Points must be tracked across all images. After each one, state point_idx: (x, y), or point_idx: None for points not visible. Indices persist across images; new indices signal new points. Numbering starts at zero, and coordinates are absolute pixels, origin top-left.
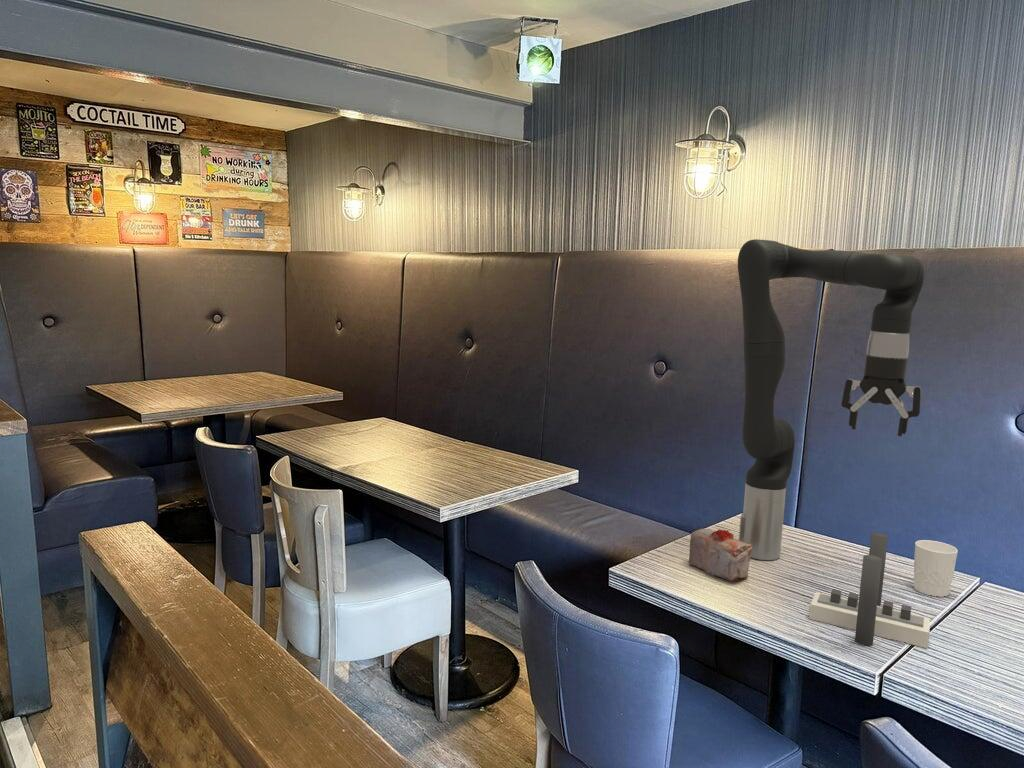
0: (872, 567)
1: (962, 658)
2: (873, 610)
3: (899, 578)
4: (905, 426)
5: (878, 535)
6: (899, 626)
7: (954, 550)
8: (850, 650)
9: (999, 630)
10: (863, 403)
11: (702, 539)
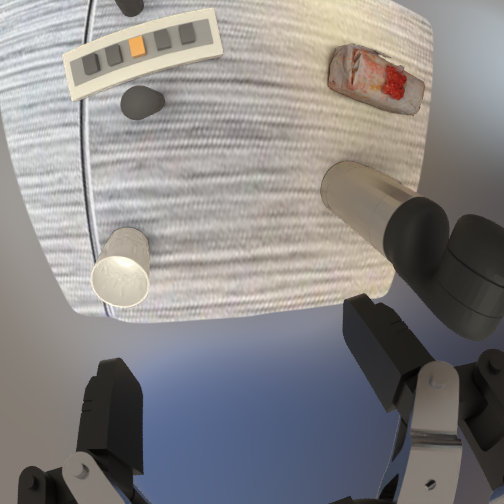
0: None
1: (37, 71)
2: None
3: (172, 254)
4: (86, 412)
5: (138, 96)
6: (95, 40)
7: (102, 295)
8: None
9: (33, 190)
10: (413, 449)
11: (407, 72)
